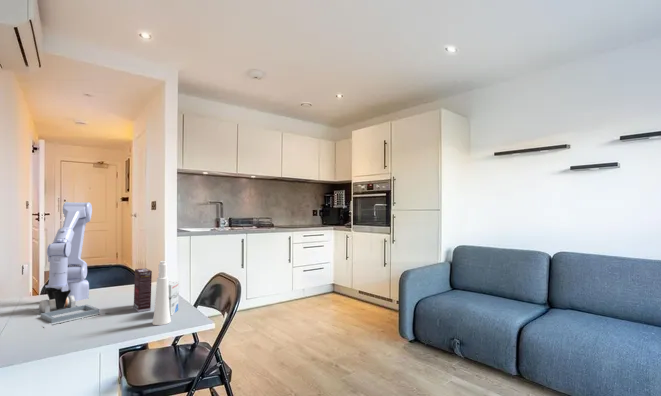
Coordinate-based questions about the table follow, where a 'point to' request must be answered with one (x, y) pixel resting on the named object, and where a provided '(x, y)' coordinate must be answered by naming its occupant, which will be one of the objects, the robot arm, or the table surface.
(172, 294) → the ink box
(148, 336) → the table surface
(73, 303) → the fuse holder
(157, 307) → the cosmetic bottle
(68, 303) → the fuse
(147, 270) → the supplement box
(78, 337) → the table surface
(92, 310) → the tray
